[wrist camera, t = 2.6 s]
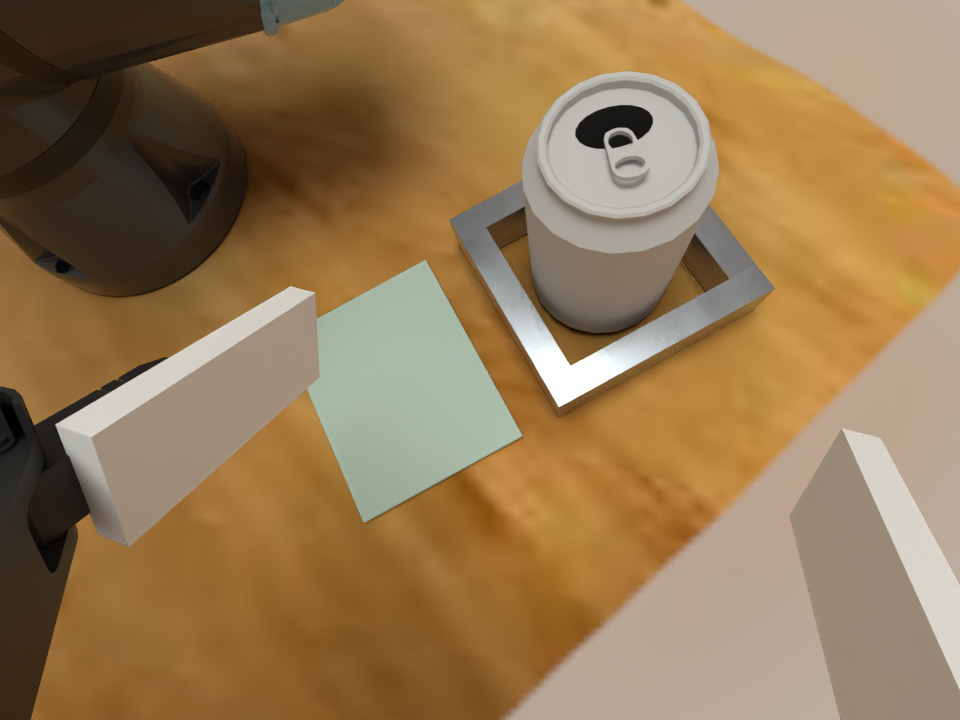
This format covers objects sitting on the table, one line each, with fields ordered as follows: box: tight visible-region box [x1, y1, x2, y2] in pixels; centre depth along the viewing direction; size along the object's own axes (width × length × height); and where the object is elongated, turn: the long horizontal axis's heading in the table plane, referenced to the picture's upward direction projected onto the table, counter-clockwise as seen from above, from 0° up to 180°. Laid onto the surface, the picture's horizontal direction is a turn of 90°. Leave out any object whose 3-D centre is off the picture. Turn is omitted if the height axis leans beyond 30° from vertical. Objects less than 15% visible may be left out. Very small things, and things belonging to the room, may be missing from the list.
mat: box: [307, 260, 523, 523], centre depth 30 cm, size 12×10×1 cm
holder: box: [450, 180, 775, 417], centre depth 29 cm, size 12×12×3 cm
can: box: [522, 71, 719, 333], centre depth 25 cm, size 8×8×12 cm
